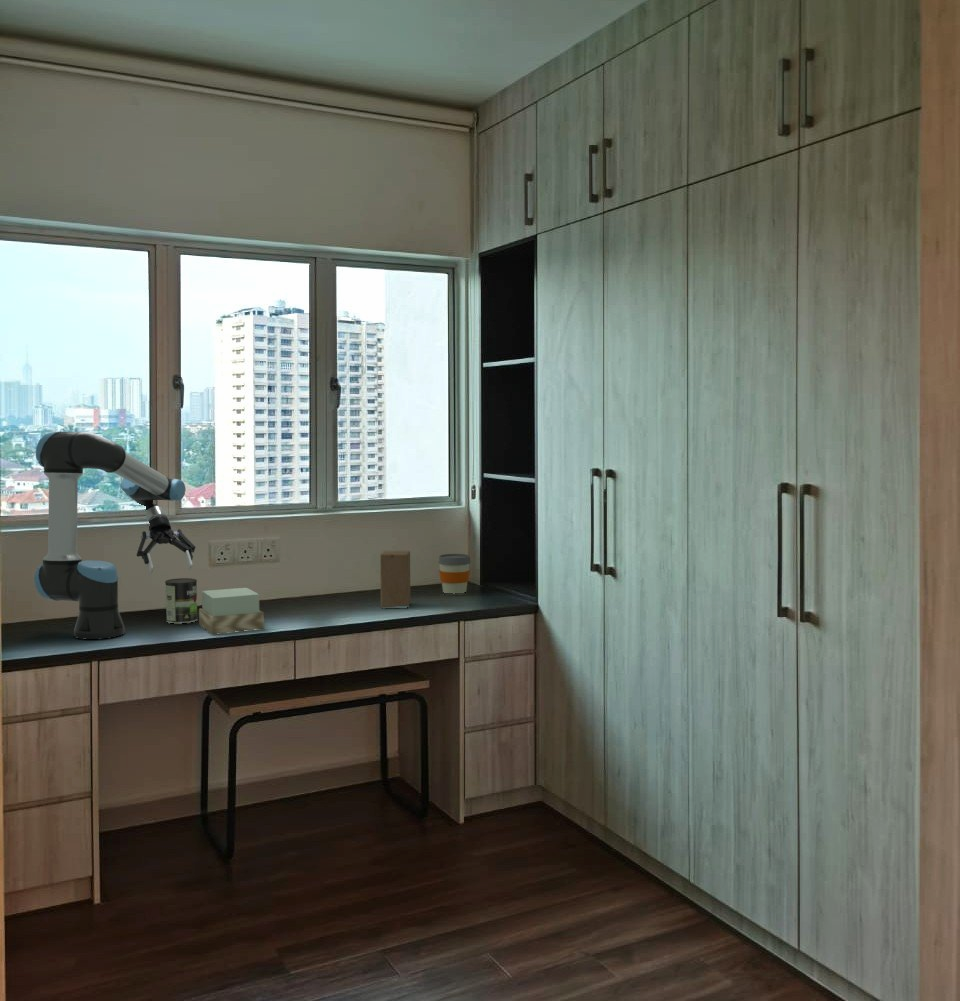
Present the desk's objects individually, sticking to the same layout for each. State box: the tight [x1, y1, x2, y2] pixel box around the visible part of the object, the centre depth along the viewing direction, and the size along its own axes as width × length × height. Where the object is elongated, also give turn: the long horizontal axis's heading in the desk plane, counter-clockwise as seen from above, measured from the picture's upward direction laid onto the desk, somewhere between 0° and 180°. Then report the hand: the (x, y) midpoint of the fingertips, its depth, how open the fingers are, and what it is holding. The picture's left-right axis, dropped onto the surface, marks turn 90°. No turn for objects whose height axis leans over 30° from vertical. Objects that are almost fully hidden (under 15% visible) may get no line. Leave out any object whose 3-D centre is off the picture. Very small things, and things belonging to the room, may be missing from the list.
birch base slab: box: [198, 608, 265, 635], centre depth 335 cm, size 17×17×6 cm
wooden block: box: [379, 550, 411, 608], centre depth 371 cm, size 10×10×20 cm
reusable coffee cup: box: [438, 553, 472, 594], centre depth 397 cm, size 13×13×15 cm
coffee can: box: [164, 577, 199, 625], centre depth 344 cm, size 10×10×14 cm
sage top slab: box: [201, 587, 260, 617], centre depth 334 cm, size 15×15×6 cm
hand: (171, 568), depth 352 cm, fingers open, 13 cm apart
